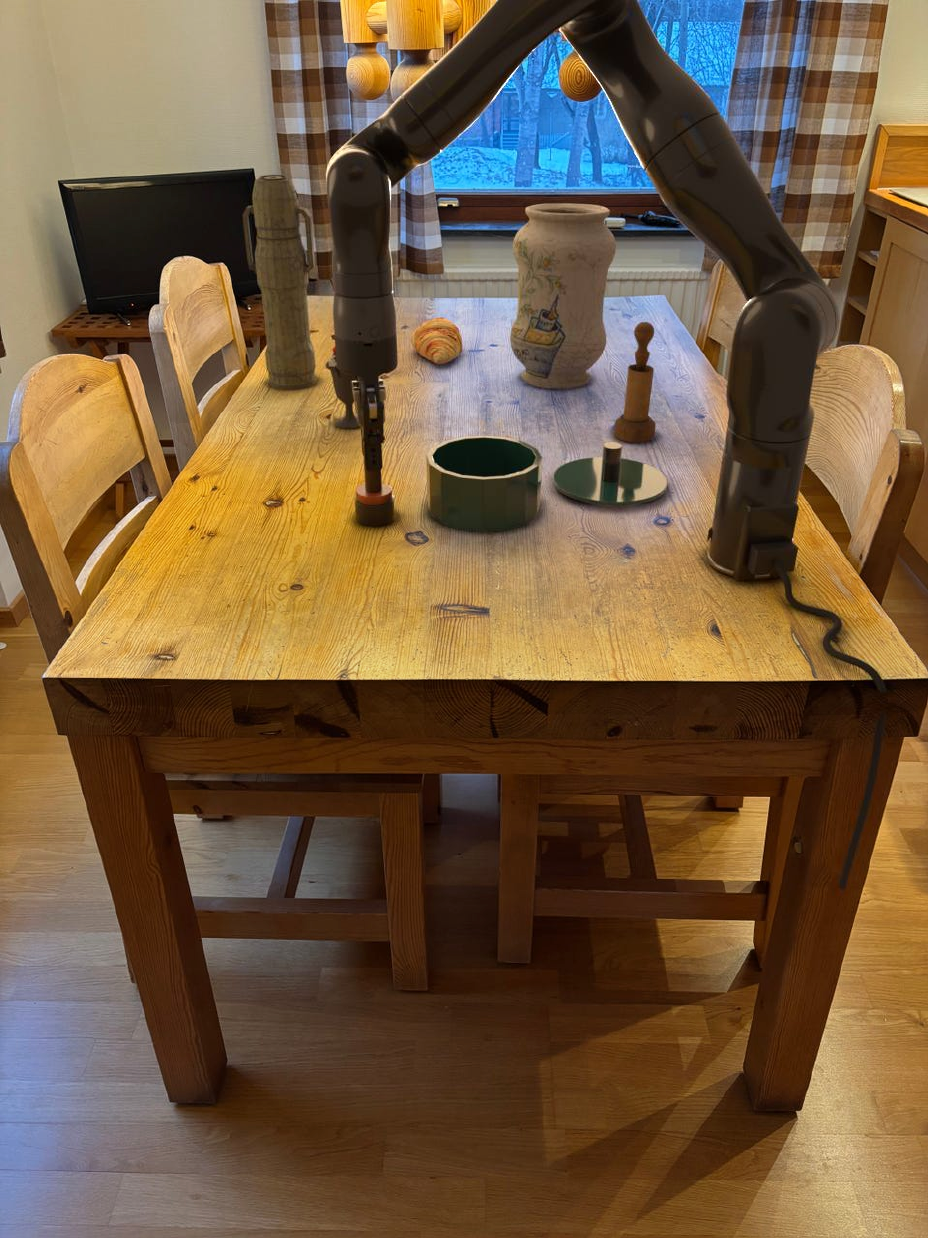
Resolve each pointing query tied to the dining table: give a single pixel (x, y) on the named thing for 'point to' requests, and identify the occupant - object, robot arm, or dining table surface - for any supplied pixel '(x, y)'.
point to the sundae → (343, 392)
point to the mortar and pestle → (638, 393)
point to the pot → (484, 483)
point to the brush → (374, 499)
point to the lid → (610, 479)
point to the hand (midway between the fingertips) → (372, 462)
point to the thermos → (283, 279)
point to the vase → (561, 292)
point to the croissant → (437, 340)
